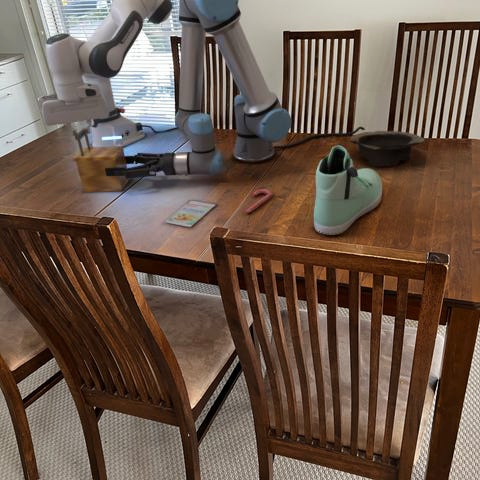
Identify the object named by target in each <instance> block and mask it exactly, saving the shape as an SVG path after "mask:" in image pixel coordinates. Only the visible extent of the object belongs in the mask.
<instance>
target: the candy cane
mask: <svg viewBox="0 0 480 480" xmlns="http://www.w3.org/2000/svg"><path fill="white" fill-rule="evenodd" d="M261 194H265V195H264V196H263V197H262V198H260V199H259V200H257V201H256V202H255V203H254V204H252V205H251V206H250V207H248V208H247V209H246V210H245V213H246V214H248V215H249V214H251V213H252V212H254V211H255V210H257V209H258V208H259V207H260V206H261V205H263V204H264V203H265V202H267V201H268V200H269V199H271V198H272V197H273V192H272V191H271V190H270V189H266V188H260V189H256V190H255V191H253V193H252V196H253V197H257V196H258V195H261Z"/></svg>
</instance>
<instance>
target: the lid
mask: <svg viewBox="0 0 480 480" xmlns="http://www.w3.org/2000/svg"><path fill="white" fill-rule="evenodd" d="M83 138H85V142H86V143H85V144H86V146H87V147H83V145H82V141H81V140H82V139H83ZM74 140H75V141H76V142H77V143H78V144H77V145H78V147H79V151H78V152H77V153H76V154H75V155H73V157H71V158H72V159H71V160H72V162H76V161H99V160H115V159H116V158H117V157H118V156H119V154H120V153H121V152H122V151H123V150H124V147H123V146H114V147H92V146H91V143H90V140H89V137H88V134H86V133H85V127H83V128H81V130H79V131H77V134H76V135H75V136H74Z"/></svg>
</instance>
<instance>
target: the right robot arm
mask: <svg viewBox="0 0 480 480" xmlns="http://www.w3.org/2000/svg"><path fill="white" fill-rule="evenodd" d="M178 3H179V4H178V5H179V6H178V22H179V24H180V25H181V35H180V36H181V40H180V41H181V42H180V61H179V62H180V67H179V90H178V91H179V92H178V93H179V94H178V111H177V112H176V113H175V116H174V124H175V127H178V129H177V130H179V131H180V132H181V133H183V134H184V135H185V136H186V137H187V138H188V139H189V140H190V146H191V151H177V152H176V153H175V152H164V153H151V152H150V153H149V152H137V153H136V154H133V155H125V160H126V164H127V165H135V166H131V167H127V168H126V167H116V168H105V172H106V176H125V178H126V179H129V180H131V179H139V178H147V177H156V176H157V173H160V172H162V173H163V174H164V175H165V176H166V177H169V176H171V177H172V176H185V177H187V176H192V175H195V176H198V175H199V176H200V175H201V176H202V175H203V176H204V175H208V176H209V175H218V174H221V173H222V172H223V169H224V157H223V152H222V151H221V150H216V147H215V137H214V124H213V119H212V116H211V115H210V114H208V113H205V112H204V113H203V112H202V99H203V98H202V97H203V83H204V66H205V53H206V52H205V51H206V50H205V49H206V36H207V34H208V35H211V36H212V37H213V39H214V41H215V44H216V45H217V47H218V49H219V52H220V53H221V55H222V57H223V60H224V62H225V64H226V66H227V69H228V70H229V72H230V74H231V77H232V78H233V81H234V82H235V85H236V87H237V90H238V91H239V93H240V94H238V95H235V97H234V104H233V107H234V115H235V128H236V129H235V130H236V140H235V142H234V147H233V151H232V152H233V154H232V155H233V159H234V160H235V161H238V162H240V163H245V164H257V163H263V162H267V161H269V160H271V159H272V158H273V157H274V156H275V150H276V149H286V148H291V147H294V146H295V147H296V146H298V145H301V144H302V143H305V142H306V141H308V140H311V139H315V138H320V137H333V136H336V137H337V136H340V137H343V136H353V135H355V134H357V132H359V131H360V130H362V131H365V130H366V128H365V127H363V126H358V127H356V129H354V130H353V131H351V132H328V133H318V134H313V135H308V136H307V137H305V138H303V139H301V140H298V141H296V142H293V143H290V144H289V143H288V144H285V145H273V144H274V143H275V144H276V143H278V142H280V141H282V140H284V139H285V138H286V137H287V136H288V134H289V132H290V129H291V127H292V122H293V121H292V117H291V116H292V115H291V114H290V113H289V111H288V110H287V109H285V108H283V107H282V105H281V102H280V100H279V98H278V95H277V94H276V92H273V91H270V89H269V87H268V85H267V82H266V80H265V77H264V76H263V73H262V71H261V68H260V66H259V64H258V61H257V60H256V57H255V55H254V53H253V50H252V48H251V46H250V44H249V41H248V39H247V37H246V34H245V32H244V30H243V27H242V25H241V23H240V19H241V16H242V11H241V10H240V7H239V0H179V1H178ZM138 164H140V165H138Z"/></svg>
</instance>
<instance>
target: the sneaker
mask: <svg viewBox="0 0 480 480" xmlns="http://www.w3.org/2000/svg"><path fill="white" fill-rule="evenodd" d="M317 165H318V166H317V168H316V172H315V201H314V207H313V225H314V229H315V231H316V232H318V233H320V234H323V235H326V236H327V235H328V236H336V235H339V234H342V233H344V232H345V231H347V230H348V229H349V228H350V227H351V226H352V225H353V224H354V222H356V221H357V220H358V219H359V218H360V217H362V216H363V215H365V214H367V213H370V212H372V210H374V209H375V208H377V207H378V205H380V203H381V200H382V196H383V184H382V183H383V182H382V179H381V176H380V175H379V173H378V172H377V171H376V170H374V169H372V168H367V167H365V168H358V169H357V168H355V167H354V161H353V159H352V158H351V156H350V153H349V152H348V150H347V148H345V147H344V146H342V145H334V146H333V147H331V149H330V151H329V154H327V155H326V156H325V157H324V158H322V159H321V160H320V161H319V163H318V164H317ZM343 230H344V231H343ZM319 231H320V232H319ZM322 232H323V233H322ZM339 232H340V233H339ZM326 233H327V234H326ZM328 233H329V234H328ZM335 233H337V234H335Z"/></svg>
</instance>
